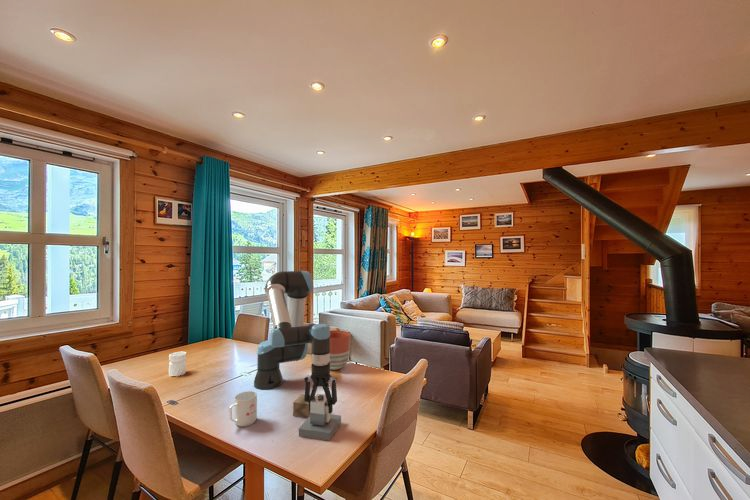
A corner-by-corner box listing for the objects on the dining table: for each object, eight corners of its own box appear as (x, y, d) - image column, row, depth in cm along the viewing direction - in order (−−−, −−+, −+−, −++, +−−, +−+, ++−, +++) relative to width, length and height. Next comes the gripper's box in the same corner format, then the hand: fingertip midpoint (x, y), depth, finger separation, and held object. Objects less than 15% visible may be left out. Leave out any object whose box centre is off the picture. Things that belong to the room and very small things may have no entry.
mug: (248, 414, 136) (248, 389, 137) (261, 420, 132) (261, 394, 132) (222, 427, 126) (223, 400, 126) (236, 433, 121) (236, 405, 122)
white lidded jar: (169, 378, 177) (170, 357, 177) (167, 373, 183) (167, 353, 184) (187, 374, 183) (187, 354, 183) (184, 370, 189) (184, 350, 189)
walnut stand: (293, 415, 135) (293, 402, 135) (301, 407, 143) (301, 394, 143) (309, 418, 133) (310, 404, 133) (317, 408, 141) (317, 395, 141)
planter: (356, 366, 195) (356, 332, 195) (337, 376, 179) (337, 340, 179) (333, 360, 205) (333, 328, 206) (312, 370, 189) (312, 335, 189)
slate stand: (298, 436, 120) (298, 428, 120) (312, 419, 132) (312, 412, 132) (329, 440, 117) (329, 432, 117) (341, 422, 129) (341, 415, 130)
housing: (310, 424, 122) (310, 399, 122) (317, 415, 129) (317, 391, 129) (324, 425, 121) (324, 401, 121) (330, 416, 128) (330, 393, 128)
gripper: (295, 364, 124) (295, 421, 123) (339, 368, 119) (339, 427, 119) (303, 358, 131) (303, 412, 130) (345, 361, 127) (345, 417, 126)
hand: (320, 419), depth 125 cm, fingers closed on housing, 6 cm apart
